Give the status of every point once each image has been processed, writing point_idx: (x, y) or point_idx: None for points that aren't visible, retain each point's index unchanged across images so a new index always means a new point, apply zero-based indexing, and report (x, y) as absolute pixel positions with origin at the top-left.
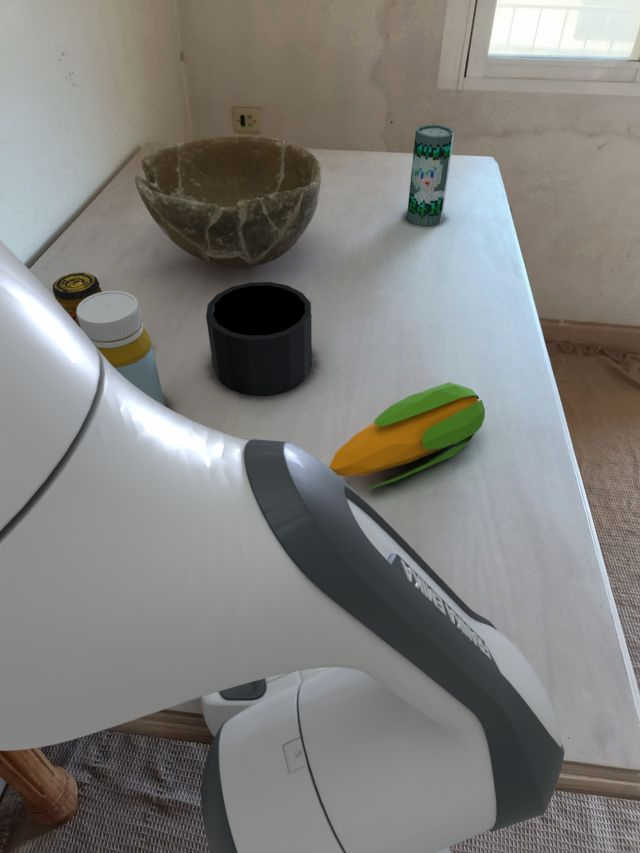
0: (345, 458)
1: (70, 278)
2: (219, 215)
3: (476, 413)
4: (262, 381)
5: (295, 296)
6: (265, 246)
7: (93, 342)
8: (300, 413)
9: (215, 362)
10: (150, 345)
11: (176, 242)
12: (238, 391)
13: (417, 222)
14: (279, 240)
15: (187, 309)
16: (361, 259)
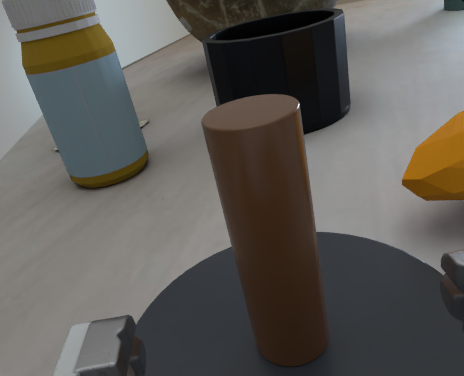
0: (441, 153)
1: None
2: None
3: None
4: None
5: (321, 14)
6: (287, 11)
7: (21, 35)
8: (337, 148)
9: (218, 105)
10: (110, 51)
11: (197, 32)
12: None
13: (458, 7)
14: (303, 4)
15: (206, 90)
16: (400, 36)
